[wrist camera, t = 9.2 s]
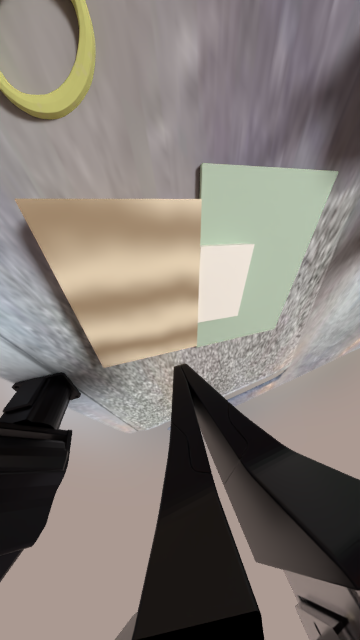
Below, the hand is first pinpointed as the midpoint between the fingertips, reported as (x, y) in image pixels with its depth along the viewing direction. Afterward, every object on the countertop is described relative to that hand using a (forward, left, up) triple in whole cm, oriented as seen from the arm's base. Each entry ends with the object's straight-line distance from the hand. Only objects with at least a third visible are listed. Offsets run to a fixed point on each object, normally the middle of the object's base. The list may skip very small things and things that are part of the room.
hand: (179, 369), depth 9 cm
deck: (+1, +2, -12) cm, 13 cm away
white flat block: (+1, -9, -12) cm, 15 cm away
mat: (+1, -15, -12) cm, 20 cm away
